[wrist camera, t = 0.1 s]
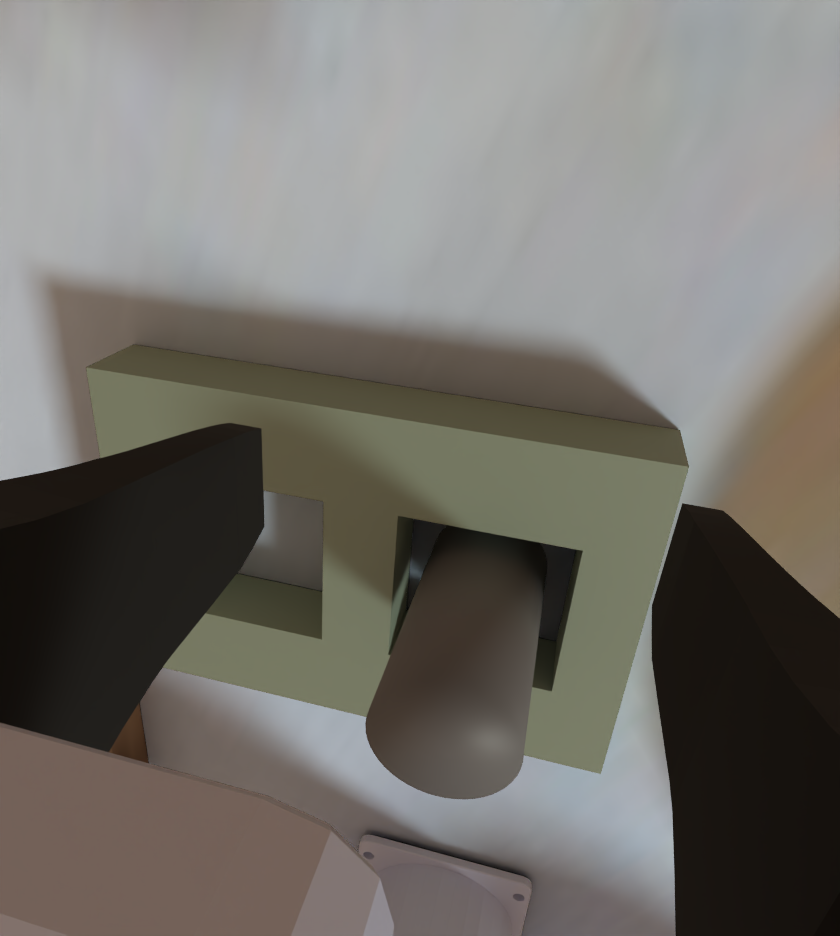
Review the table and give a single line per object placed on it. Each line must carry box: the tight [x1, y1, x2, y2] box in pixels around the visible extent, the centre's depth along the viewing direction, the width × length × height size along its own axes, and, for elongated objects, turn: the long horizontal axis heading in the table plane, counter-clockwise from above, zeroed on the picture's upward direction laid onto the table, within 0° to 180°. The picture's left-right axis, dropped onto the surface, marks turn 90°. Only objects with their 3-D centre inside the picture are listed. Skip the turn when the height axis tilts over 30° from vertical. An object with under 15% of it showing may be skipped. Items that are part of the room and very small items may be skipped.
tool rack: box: [86, 345, 689, 799], centre depth 21 cm, size 12×18×8 cm, turn 86°
